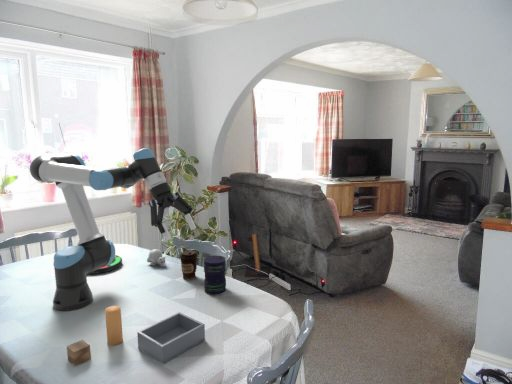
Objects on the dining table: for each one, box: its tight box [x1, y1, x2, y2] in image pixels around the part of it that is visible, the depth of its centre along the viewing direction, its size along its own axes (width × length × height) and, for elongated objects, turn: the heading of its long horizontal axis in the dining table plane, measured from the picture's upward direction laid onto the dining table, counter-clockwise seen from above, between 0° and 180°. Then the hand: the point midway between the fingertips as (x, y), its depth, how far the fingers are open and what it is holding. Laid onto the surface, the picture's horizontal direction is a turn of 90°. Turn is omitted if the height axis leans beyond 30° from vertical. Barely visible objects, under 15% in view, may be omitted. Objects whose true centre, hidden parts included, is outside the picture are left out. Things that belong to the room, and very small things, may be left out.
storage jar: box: [203, 254, 227, 296], centre depth 169 cm, size 10×10×15 cm
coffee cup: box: [179, 250, 198, 281], centre depth 184 cm, size 9×8×13 cm
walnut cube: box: [66, 339, 92, 367], centre depth 119 cm, size 5×5×5 cm
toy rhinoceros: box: [146, 248, 167, 268], centre depth 201 cm, size 7×12×8 cm, turn 52°
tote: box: [136, 311, 206, 365], centre depth 127 cm, size 18×14×6 cm
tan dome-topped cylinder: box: [104, 305, 124, 347], centre depth 129 cm, size 5×5×12 cm
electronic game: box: [88, 254, 123, 275], centre depth 200 cm, size 23×23×5 cm
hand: (181, 234), depth 146 cm, fingers open, 13 cm apart
